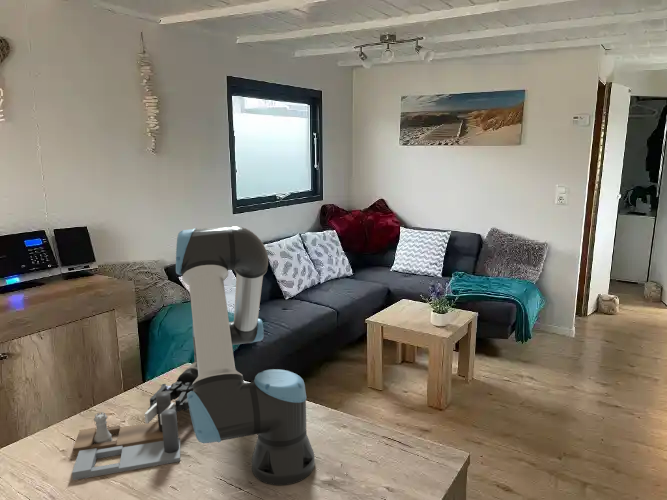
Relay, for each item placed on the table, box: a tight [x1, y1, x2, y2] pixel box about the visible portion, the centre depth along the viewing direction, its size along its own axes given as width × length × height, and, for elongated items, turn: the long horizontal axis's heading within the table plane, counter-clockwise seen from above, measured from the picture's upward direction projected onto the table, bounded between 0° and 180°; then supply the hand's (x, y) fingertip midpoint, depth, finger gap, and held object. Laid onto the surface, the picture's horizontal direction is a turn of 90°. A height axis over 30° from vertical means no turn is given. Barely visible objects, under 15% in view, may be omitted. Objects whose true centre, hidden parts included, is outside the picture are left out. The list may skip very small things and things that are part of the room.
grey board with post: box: [71, 409, 181, 481], centre depth 125 cm, size 9×24×11 cm, turn 106°
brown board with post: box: [72, 391, 172, 457], centre depth 134 cm, size 9×24×11 cm, turn 106°
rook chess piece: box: [93, 411, 113, 444], centre depth 133 cm, size 4×4×8 cm
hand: (154, 419), depth 131 cm, fingers closed on brown board with post, 4 cm apart
